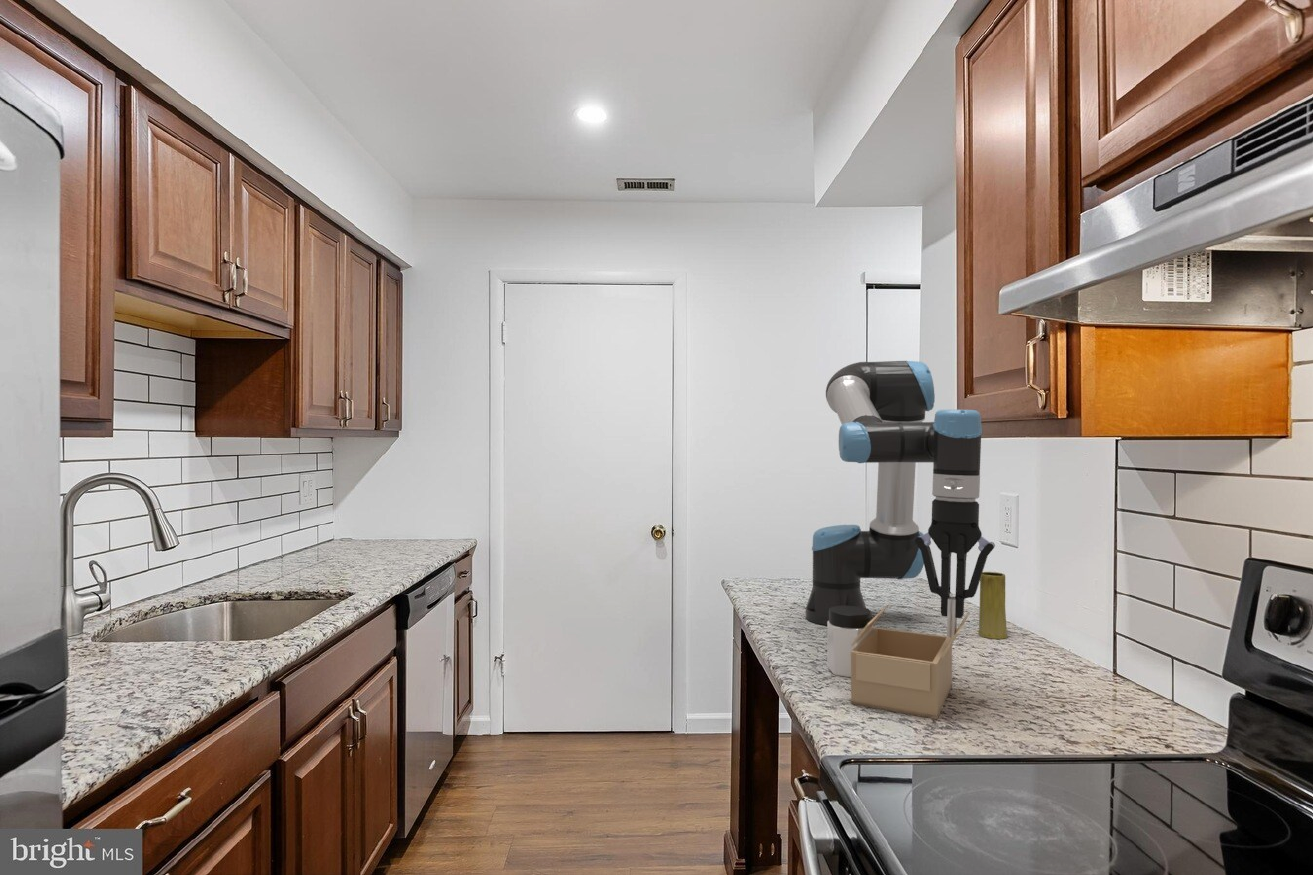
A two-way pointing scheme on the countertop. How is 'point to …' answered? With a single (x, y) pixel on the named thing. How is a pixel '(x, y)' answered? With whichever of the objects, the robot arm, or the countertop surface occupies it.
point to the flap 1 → (869, 625)
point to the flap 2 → (955, 635)
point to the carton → (901, 672)
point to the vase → (992, 606)
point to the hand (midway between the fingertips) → (951, 635)
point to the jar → (844, 636)
